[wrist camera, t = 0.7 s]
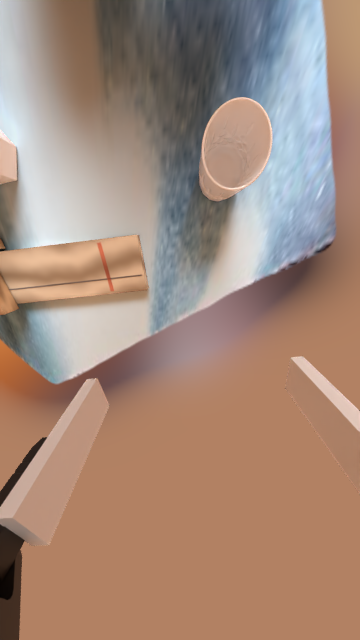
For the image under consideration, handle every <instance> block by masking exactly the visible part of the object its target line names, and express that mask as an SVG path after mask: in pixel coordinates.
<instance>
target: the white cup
mask: <svg viewBox="0 0 360 640" xmlns="http://www.w3.org/2000/svg"><path fill="white" fill-rule="evenodd" d="M271 147H272V128H271V123H270V120H269V117H268V115H267V113H266V111H265V110H264V109H263V107H262V106H261V105H260V104H259V103H257V102H256V101H254V100H252V99H250V98H245V97H239V98H234V99H231V100H229V101H227V102H225V103H224V104H223V105H221V106H220V107H219V108H218V109H217V110H216V111H215V113H214V114H213V115H212V117H211V118H210V120H209V122H208V124H207V127H206V129H205V132H204V136H203V141H202V149H201V156H200V164H199V185H200V187H201V190H202V192H203V194H204V195H205V196H206V197H207V198H208V199H209V200H213V201H217V202H219V201H222V200H225V199H227V198H229V197H231V196H233V195H235V194H236V193H238V192H240V191H241V190H243V189H244V188H246V187H247V186H249V185H250V184H251V183H253V182H254V181H255V180H256V179H257V178H258V177H259V175H260V174H261V173H262V171H263V170H264V168H265V166H266V164H267V162H268V159H269V156H270V152H271Z"/></svg>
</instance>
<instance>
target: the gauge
mask: <svg viewBox="0 0 360 640" xmlns="http://www.w3.org/2000/svg"><path fill="white" fill-rule="evenodd" d="M0 249H5V247H4V245H3V243H2V241H1V239H0ZM17 309H19V307H18V306H17V304H16V302H15V300H14V298H13V296H12V295H11V293H10V291H9V289H8V287H7V285H6V283H5V282H4V280H3V278H2V276H1V274H0V315H3V314H7V313H10V312H12V311H15V310H17Z"/></svg>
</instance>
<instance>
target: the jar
mask: <svg viewBox="0 0 360 640" xmlns="http://www.w3.org/2000/svg"><path fill="white" fill-rule="evenodd" d="M16 180H17V156H16V146H15V145H14V144H13V143H12V142H11V140H10V139H9V138H8V137H7V136H6V135H5V134H4V133H3V132H2V131H1V130H0V184H4V183H8V182H12V181H16Z"/></svg>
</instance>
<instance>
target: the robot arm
mask: <svg viewBox="0 0 360 640" xmlns="http://www.w3.org/2000/svg"><path fill="white" fill-rule="evenodd" d="M285 389H286V390H287V392H288V393H289V394H290V396H291V397H292V399H293V400H294V401H295V403H296V404H297V406H298V407H299V409H300V410H301V411H302V413H303V414H304V416H305V417H306V419H307V420H308V421H309V423H310V424H311V426H312V427H313V429H314V430H315V431H316V433H317V434H318V436H319V437H320V438H321V440H322V441H323V443H324V444H325V446H326V447H327V449H328V450H329V451H330V453H331V454H332V455H333V457H334V459H335V460H336V461H337V463H338V464H339V466H340V467H341V468H342V470H343V471H344V473H345V474H346V476H347V477H348V478H349V480H350V481H351V483H352V484H353V486H354V487H355V488H356V490H357V491H358V493H359V494H360V410H358V409H357V408H356V407H355V406H354V405H353V404H352V403H351V402H350V401H349V400H348V399H347V398H345V397H344V396H343V395H342V394H341V393H340V392H339V391H338V390H337V389H336V388H335V387H334V386H333V385H332V384H331V383H330V382H329V381H328V380H327V379H326V378H325V377H324V376H323V375H322V374H321V373H319V372H318V371H317V370H316V369H315V368H314V367H313V366H312V365H311V364H310V363H309V362H308V361H307V360H306V359H305V358H304V357H292V358H290V363H289V369H288V376H287V382H286V388H285ZM108 407H109V403H108V401H107V399H106V396H105V394H104V392H103V390H102V388H101V385H100V383H99V381H98V379H97V378H95V379H87V380H86V381H85V383H84V384H83V386H82V387H81V389H80V390H79V392H78V393H77V394H76V396H75V397H74V399H73V401H72V402H71V403H70V405H69V406H68V408H67V409H66V411H65V412H64V414H63V415H62V417H61V418H60V420H59V421H58V423H57V424H56V426H55V427H54V429H53V430H52V432H51V433H50V434H49V436H48V437H45V438H42V439H41V440H40V441H39V442H37V443H36V444H35V445H34V446H33V447H32V448H31V450H30V451H29V453H28V454H27V455H26V457H25V458H24V459H23V462H22V463H21V464H20V465H19V466H18V468H17V469H16V471H15V473H14V474H13V475H12V476H11V478H10V479H9V480H8V482H7V483H6V484H5V486H4V487H3V489H2V490H1V491H0V640H19V625H20V596H21V567H22V554H21V551H20V549H21V547H22V545H23V542H24V541H26V542H27V543H29V544H30V545H32V546H35V545H49V544H50V542H51V539H52V537H53V534H54V532H55V530H56V528H57V525H58V523H59V521H60V518H61V516H62V514H63V512H64V509H65V507H66V505H67V502H68V500H69V498H70V495H71V493H72V491H73V488H74V486H75V484H76V481H77V479H78V477H79V475H80V472H81V469H82V468H83V465H84V463H85V461H86V458H87V456H88V454H89V451H90V449H91V447H92V445H93V442H94V440H95V438H96V435H97V433H98V431H99V428H100V426H101V424H102V421H103V419H104V416H105V415H106V412H107V410H108Z"/></svg>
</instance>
